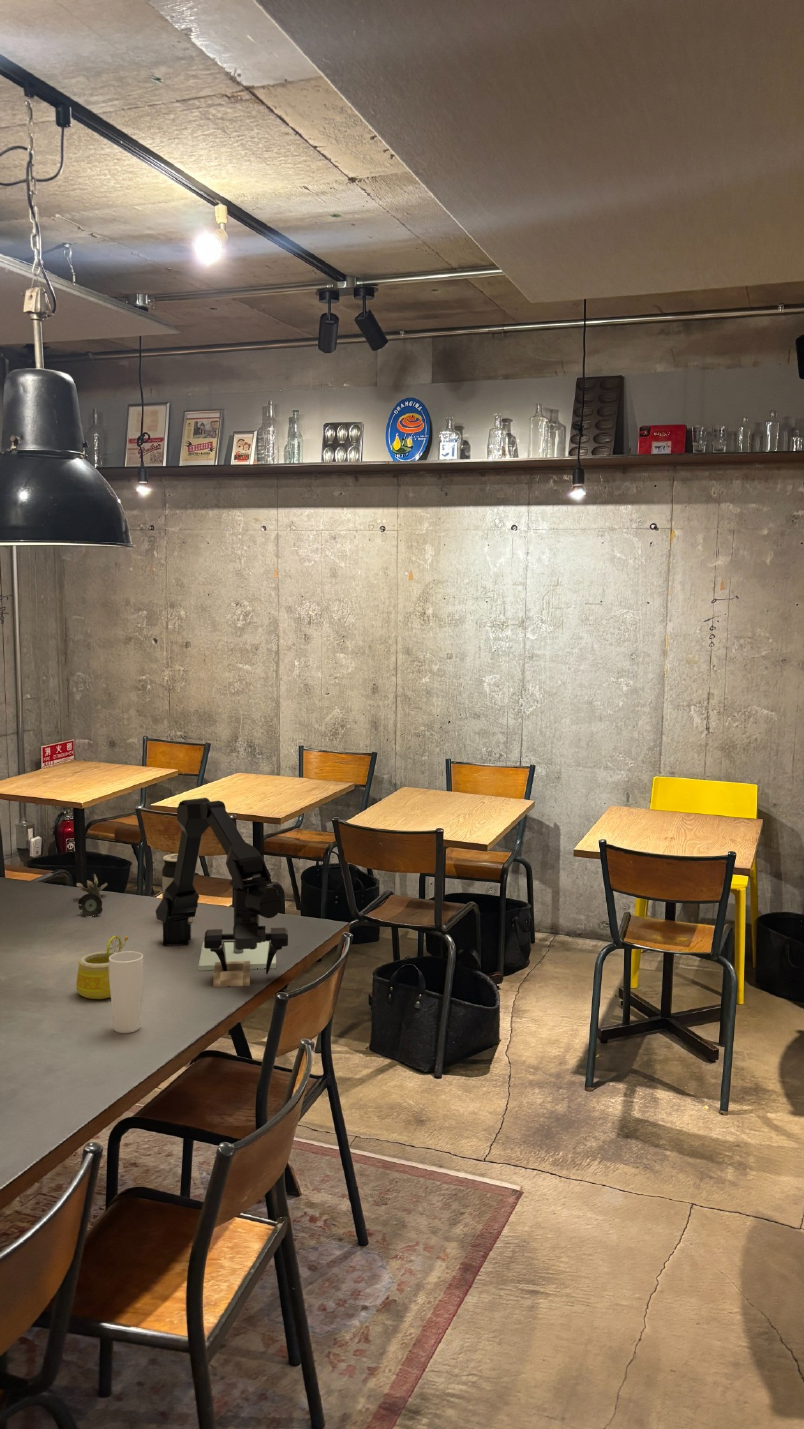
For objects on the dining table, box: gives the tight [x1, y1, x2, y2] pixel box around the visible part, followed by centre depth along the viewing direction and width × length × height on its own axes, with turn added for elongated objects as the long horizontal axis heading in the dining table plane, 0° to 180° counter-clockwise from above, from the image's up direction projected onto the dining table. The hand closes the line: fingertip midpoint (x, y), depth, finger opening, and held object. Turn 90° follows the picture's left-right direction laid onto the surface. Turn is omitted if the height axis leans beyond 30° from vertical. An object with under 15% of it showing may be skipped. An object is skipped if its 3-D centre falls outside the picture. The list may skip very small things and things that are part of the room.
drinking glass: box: [109, 950, 145, 1034], centre depth 206 cm, size 7×7×15 cm
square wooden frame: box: [212, 961, 251, 988], centre depth 235 cm, size 8×8×3 cm
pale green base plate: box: [197, 940, 277, 971], centre depth 251 cm, size 18×18×5 cm
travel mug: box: [161, 853, 194, 923], centre depth 278 cm, size 8×8×18 cm
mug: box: [76, 935, 129, 1000], centre depth 226 cm, size 13×11×12 cm
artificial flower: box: [76, 873, 108, 918], centre depth 292 cm, size 9×22×10 cm, turn 8°
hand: (246, 974), depth 235 cm, fingers open, 9 cm apart
